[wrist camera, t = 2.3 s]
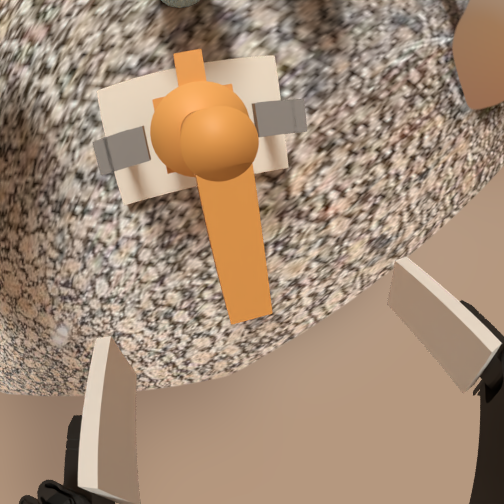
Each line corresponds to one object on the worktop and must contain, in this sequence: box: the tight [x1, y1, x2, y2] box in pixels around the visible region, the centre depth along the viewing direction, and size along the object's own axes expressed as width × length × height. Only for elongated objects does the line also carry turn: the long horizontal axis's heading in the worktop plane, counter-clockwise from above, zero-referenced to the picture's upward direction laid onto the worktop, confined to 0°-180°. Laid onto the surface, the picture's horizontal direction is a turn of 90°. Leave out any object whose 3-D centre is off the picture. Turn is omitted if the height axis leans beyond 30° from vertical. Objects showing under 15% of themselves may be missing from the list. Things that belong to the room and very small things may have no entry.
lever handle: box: [150, 49, 272, 324], centre depth 18 cm, size 8×16×17 cm, turn 8°
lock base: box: [93, 56, 307, 205], centre depth 24 cm, size 20×14×11 cm
